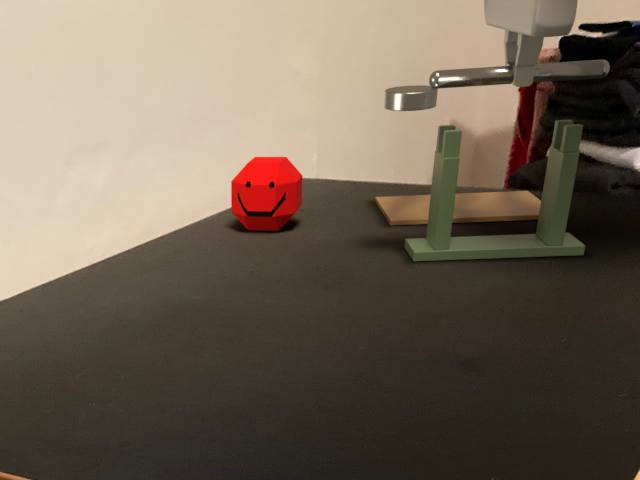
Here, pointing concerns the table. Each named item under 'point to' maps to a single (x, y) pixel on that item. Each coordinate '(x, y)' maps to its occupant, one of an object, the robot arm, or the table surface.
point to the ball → (266, 193)
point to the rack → (541, 244)
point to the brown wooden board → (463, 207)
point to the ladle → (486, 81)
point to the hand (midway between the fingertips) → (517, 84)
